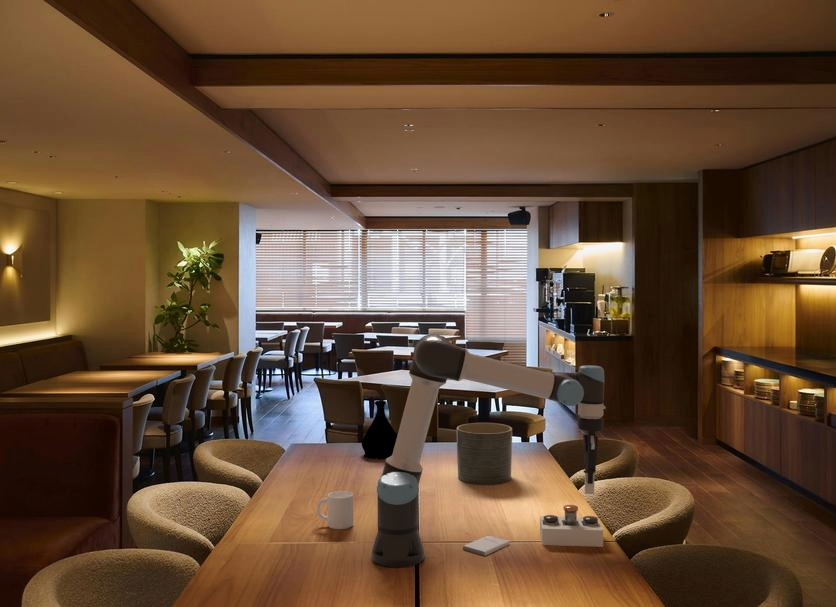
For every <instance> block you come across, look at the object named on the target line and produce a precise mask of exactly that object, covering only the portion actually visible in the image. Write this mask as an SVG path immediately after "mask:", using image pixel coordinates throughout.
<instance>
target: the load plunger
mask: <svg viewBox="0 0 836 607" xmlns="http://www.w3.org/2000/svg"><path fill="white" fill-rule="evenodd" d="M562 507H563V511H564V517H565V526H577V517H578V513H577V512H578V511H579V506H577V505H575V504H565V505H563V506H562Z"/></svg>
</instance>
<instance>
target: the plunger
mask: <svg viewBox="0 0 836 607" xmlns="http://www.w3.org/2000/svg"><path fill="white" fill-rule="evenodd" d="M598 519H599V518H598V517H597V516H594V515H585V516H583V521H584V522H585V526H597V522H598Z"/></svg>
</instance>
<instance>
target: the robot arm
mask: <svg viewBox="0 0 836 607" xmlns="http://www.w3.org/2000/svg"><path fill="white" fill-rule="evenodd" d="M411 360H412V361H411V364H410V368H409V372H408V375H409V376H410V377H411V378H410V379H411V384H410V388H409V391H408V395H407V399H406V402H405V406H404V410H403V413H402V417H401V421H400V424H399V429H398V431H397V432H398V433H397V439H396V443H395V447H394V451H393V454H392V456H390V457H389V458H387V459H385V462H384V465H383V469H382V473H381V475H380V477H379V479H378V480H377V485H376V493H377V494H376V495H377V533H376V537H375V540H374V542H373V546H372V548H371V561H372V562H374V564H375V563H376V564H377V565H378V566H383V567H388V568H406V567H412V566H416V565H418V564H420V563H422V562H423V561H424V560H425V549H424V545H423V541H422V539H421V536H420V533H419V492H420V491H419V485H420V482H421V477H422V474H423V470H424V469H423V467H422V465H421V464H420V462H421V458H422V454H423V450H424V447H425V442H426V440H427V435H428V432H429V428H430V424H431V420H432V418H433V417H432V416H433V413H434V409H435V406H436V403H437V399H438V394H439V390H440V388H441V387H442V386H444V385H446V384H447V380H452V381H455V382H460V381H462V380H466V381H472V382H475V383H479V384H483V385H488V386H492V387H496V388H500V389H504V390H509V391H514V392H517V393H521V394H525V395H528V396H533V397H537V398H542V399H545V400H549V401H553V402H557V403H561V404H562V405H565V406H567V407H575V406H578V408H577V411H578V412H577V415H578V418H577V421H578V422H577V427H578V430H582V431H585V434H583V436H582V439H583V453H584V454H583V455H584V456H583V460H584V461H583V463H584V464H583V467H584V470H583V474H584V494H585V495H594V494H595V473H596V472H597V469H596V467H597V453H598V452H597V451H598V446H599V445H598V442H599V437H598V436H597V433H596V432H601V431H603V429H604V418H603V416H604V410H606V409H607V407H606V405H605V404H604V402H605V401H604V400H605V399H604V398H605V381H606V380H605V370H604V368H603V367H602V366H601V365H600V366H599V365H589V364H588V365H587V364H586V365H581V366H579V369H578V371H576V372H562V371H561V372H560V371H559V372H558V371H555V372H554V371H548V372H546V371H543V370H538V369H535V368H530V367H527V366H523V365H518V364H514V363H511V362H507V361H503V360H500V359H499V360H498V359H494V358H490V357H486V356H483V355H478V354H474V353H470V352H469V350H468V348H466V347H465V348H464V347H460V346H457V345H455V344H452V343H451V342H450V341H449V339H448V338H446V337H445V336H444V335H440V334H438V333H437V334H436V333H429V334H426V335H424V336H422V337H420V338H419V340H418V341H417V342H416V344H415V345H414V349H413V356H412V359H411Z"/></svg>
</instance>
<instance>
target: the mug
mask: <svg viewBox="0 0 836 607" xmlns="http://www.w3.org/2000/svg"><path fill="white" fill-rule="evenodd" d="M326 495H327V496H326V497H324V498H322V499H320V500H319V501H318V503H317V505H316V513H317V516H318V517H319V519H321V520H323V521H327V525H328V527H329V528H330V529H332V530H346V529H350V528H351V527H352V526H353V525H354V494H353V492H351V491H349V490H348V491H345V490H338V491H337V490H336V491H331V492H329V493H327V494H326ZM325 503H326V504H327V515H325V514H323V513H322V511H321V510H322V508H321V507H322V506H323V504H325Z"/></svg>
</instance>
